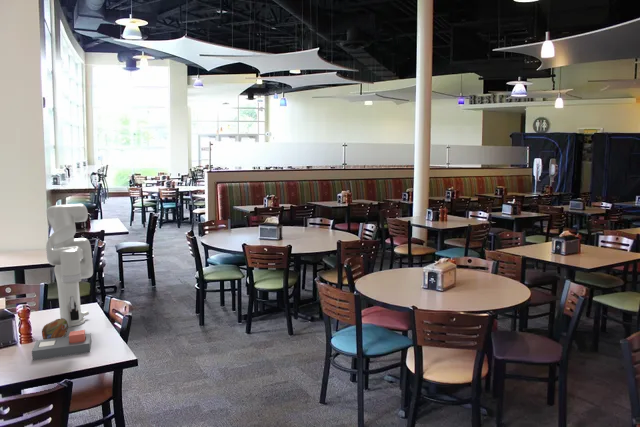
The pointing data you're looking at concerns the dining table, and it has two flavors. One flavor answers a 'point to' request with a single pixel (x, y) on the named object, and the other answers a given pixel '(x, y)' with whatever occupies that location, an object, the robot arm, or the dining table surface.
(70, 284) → the robot arm
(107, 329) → the dining table surface
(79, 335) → the red button
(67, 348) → the console
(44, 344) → the white button
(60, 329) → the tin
